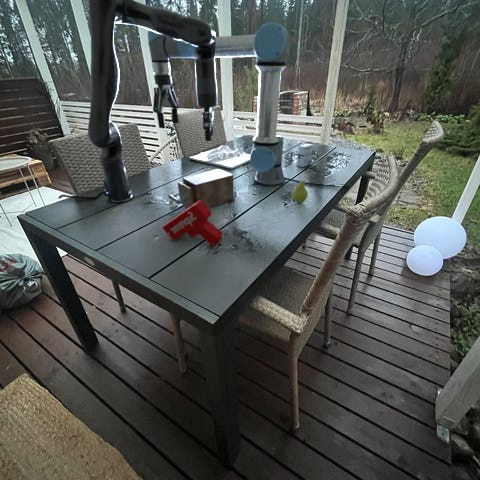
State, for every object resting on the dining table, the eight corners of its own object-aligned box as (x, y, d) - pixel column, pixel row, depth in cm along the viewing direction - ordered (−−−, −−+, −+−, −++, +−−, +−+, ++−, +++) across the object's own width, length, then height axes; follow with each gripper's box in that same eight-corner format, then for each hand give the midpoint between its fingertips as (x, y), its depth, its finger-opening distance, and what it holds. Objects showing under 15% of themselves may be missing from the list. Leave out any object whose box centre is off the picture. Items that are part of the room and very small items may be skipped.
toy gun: (229, 234, 92) (201, 198, 88) (224, 240, 88) (196, 203, 84) (194, 253, 102) (168, 222, 98) (189, 259, 98) (162, 227, 94)
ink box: (304, 162, 171) (306, 143, 164) (310, 164, 168) (313, 144, 161) (296, 165, 166) (298, 145, 159) (302, 167, 163) (305, 147, 156)
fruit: (288, 200, 123) (290, 174, 116) (302, 197, 125) (305, 172, 119) (296, 206, 118) (299, 179, 111) (310, 203, 120) (314, 177, 114)
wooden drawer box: (198, 211, 114) (195, 184, 108) (185, 203, 122) (182, 177, 115) (233, 199, 124) (233, 174, 118) (219, 192, 131) (218, 168, 125)
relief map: (231, 168, 161) (231, 160, 158) (189, 159, 179) (189, 151, 176) (257, 158, 179) (257, 150, 176) (217, 150, 197) (216, 142, 194)
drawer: (179, 214, 110) (176, 192, 105) (169, 206, 116) (165, 185, 111) (225, 199, 122) (224, 178, 117) (213, 193, 128) (211, 173, 123)
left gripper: (198, 90, 105) (202, 134, 113) (193, 93, 93) (197, 142, 101) (218, 90, 105) (220, 134, 113) (215, 93, 93) (217, 142, 101)
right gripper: (168, 73, 131) (174, 120, 143) (138, 75, 111) (148, 129, 123) (182, 73, 129) (187, 121, 141) (154, 75, 109) (163, 130, 121)
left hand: (209, 138), depth 107 cm, fingers open, 8 cm apart
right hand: (169, 125), depth 132 cm, fingers open, 13 cm apart
